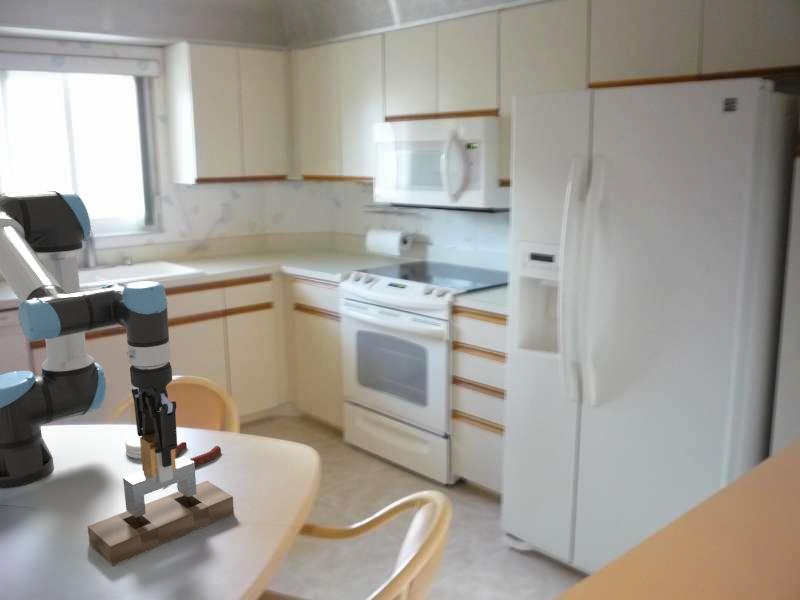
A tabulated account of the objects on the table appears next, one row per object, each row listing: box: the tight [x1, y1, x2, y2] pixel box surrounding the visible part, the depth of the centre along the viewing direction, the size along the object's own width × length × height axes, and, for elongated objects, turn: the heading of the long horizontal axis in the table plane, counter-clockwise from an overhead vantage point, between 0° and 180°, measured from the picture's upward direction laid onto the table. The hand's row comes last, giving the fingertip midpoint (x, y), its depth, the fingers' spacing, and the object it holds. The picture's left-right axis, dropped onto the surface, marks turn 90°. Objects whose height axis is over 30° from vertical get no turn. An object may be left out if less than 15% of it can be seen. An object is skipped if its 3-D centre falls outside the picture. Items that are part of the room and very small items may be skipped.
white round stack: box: [124, 432, 142, 460], centre depth 182 cm, size 10×10×4 cm
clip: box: [122, 433, 197, 517], centre depth 143 cm, size 4×13×14 cm, turn 135°
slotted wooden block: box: [87, 480, 235, 567], centre depth 146 cm, size 10×26×4 cm, turn 135°
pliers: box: [175, 441, 222, 468], centre depth 173 cm, size 12×20×3 cm, turn 166°
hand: (160, 475), depth 144 cm, fingers closed on clip, 4 cm apart
